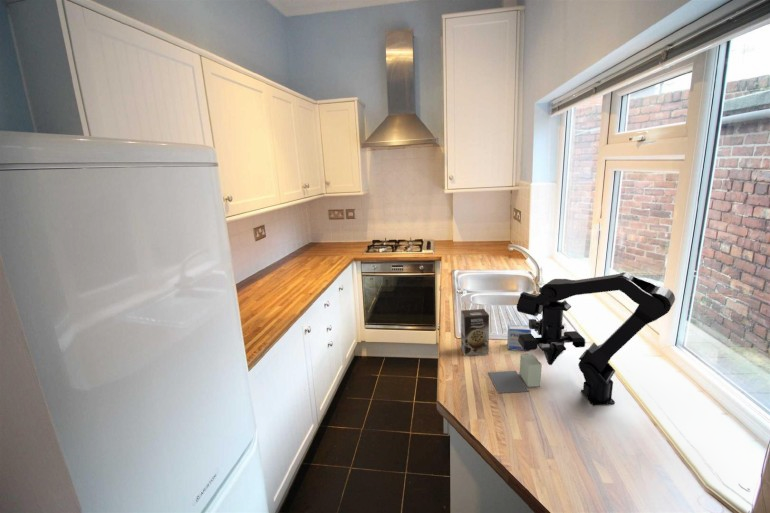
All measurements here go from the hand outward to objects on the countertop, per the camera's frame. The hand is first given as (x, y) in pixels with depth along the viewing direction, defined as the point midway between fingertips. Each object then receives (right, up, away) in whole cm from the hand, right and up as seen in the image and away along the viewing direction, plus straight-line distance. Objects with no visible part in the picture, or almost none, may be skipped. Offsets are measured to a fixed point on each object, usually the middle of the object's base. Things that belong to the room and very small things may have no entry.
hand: (549, 364), depth 112 cm
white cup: (+10, 0, +19) cm, 21 cm away
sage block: (-6, -6, +1) cm, 8 cm away
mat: (-13, -6, +2) cm, 14 cm away
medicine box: (-2, 0, +22) cm, 22 cm away
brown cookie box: (-19, -2, +21) cm, 28 cm away
